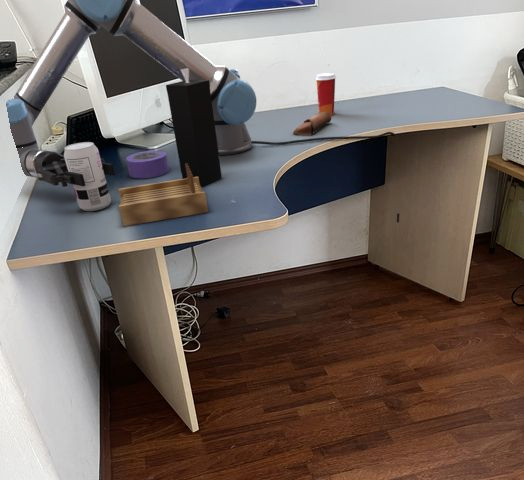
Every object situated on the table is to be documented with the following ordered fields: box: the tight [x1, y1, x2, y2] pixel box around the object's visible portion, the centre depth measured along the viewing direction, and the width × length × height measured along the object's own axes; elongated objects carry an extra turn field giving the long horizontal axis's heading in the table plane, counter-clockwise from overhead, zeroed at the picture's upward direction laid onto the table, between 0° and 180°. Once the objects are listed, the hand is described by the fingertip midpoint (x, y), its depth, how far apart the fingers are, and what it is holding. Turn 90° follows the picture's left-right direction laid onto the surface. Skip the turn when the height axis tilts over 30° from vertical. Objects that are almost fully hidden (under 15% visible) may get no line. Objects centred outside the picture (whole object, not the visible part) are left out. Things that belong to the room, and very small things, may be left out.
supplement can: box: [63, 141, 112, 212], centre depth 131 cm, size 8×8×15 cm
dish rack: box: [118, 163, 209, 227], centre depth 126 cm, size 20×14×9 cm
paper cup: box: [315, 72, 337, 116], centre depth 200 cm, size 8×8×14 cm
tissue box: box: [165, 68, 223, 187], centre depth 138 cm, size 8×8×28 cm
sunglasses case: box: [292, 112, 332, 136], centre depth 185 cm, size 18×7×7 cm, turn 155°
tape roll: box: [125, 150, 170, 180], centre depth 156 cm, size 12×12×5 cm
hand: (97, 175), depth 128 cm, fingers closed on supplement can, 8 cm apart
